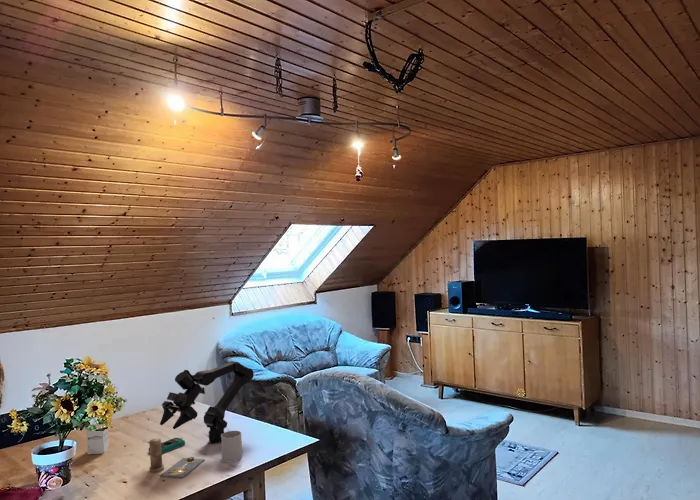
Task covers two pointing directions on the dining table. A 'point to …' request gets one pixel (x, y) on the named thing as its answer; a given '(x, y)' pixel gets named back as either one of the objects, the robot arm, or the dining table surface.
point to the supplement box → (97, 441)
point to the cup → (231, 446)
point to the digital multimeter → (171, 444)
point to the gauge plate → (182, 468)
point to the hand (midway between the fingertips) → (167, 426)
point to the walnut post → (155, 456)
